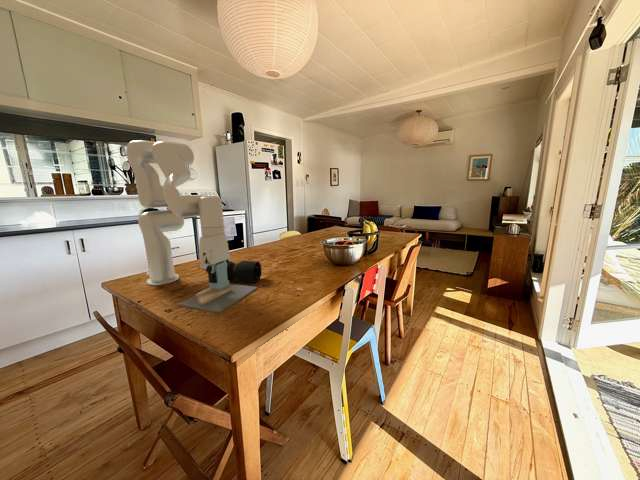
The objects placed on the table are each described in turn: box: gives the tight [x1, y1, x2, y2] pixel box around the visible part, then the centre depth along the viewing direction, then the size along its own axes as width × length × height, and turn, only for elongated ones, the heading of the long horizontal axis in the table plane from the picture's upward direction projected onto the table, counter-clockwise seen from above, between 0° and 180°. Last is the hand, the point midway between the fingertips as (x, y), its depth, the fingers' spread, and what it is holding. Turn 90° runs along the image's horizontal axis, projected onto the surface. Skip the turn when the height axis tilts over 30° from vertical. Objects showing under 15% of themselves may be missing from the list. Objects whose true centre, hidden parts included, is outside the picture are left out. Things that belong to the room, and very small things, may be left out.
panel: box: [178, 283, 259, 314], centre depth 97 cm, size 18×22×1 cm
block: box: [208, 262, 228, 289], centre depth 92 cm, size 4×4×9 cm
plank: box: [195, 281, 231, 305], centre depth 95 cm, size 2×14×4 cm, turn 160°
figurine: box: [227, 260, 262, 283], centre depth 112 cm, size 9×9×20 cm
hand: (218, 279), depth 93 cm, fingers closed on block, 4 cm apart
